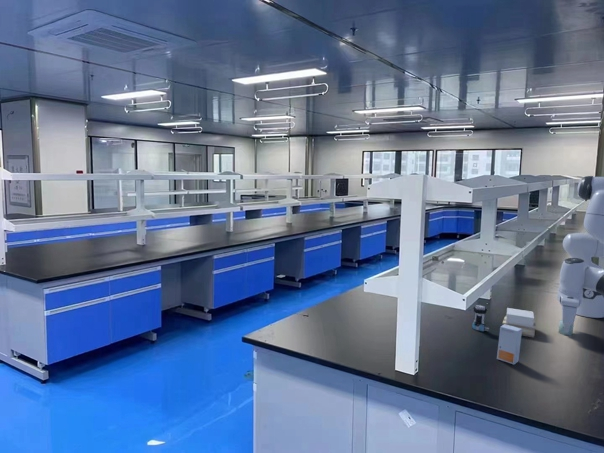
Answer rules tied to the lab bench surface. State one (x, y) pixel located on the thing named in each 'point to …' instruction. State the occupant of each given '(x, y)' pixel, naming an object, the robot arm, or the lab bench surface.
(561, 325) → the pale blue egg shape
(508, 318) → the white top block
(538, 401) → the lab bench surface
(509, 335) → the skincare box
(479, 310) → the push button
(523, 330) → the maple base block
